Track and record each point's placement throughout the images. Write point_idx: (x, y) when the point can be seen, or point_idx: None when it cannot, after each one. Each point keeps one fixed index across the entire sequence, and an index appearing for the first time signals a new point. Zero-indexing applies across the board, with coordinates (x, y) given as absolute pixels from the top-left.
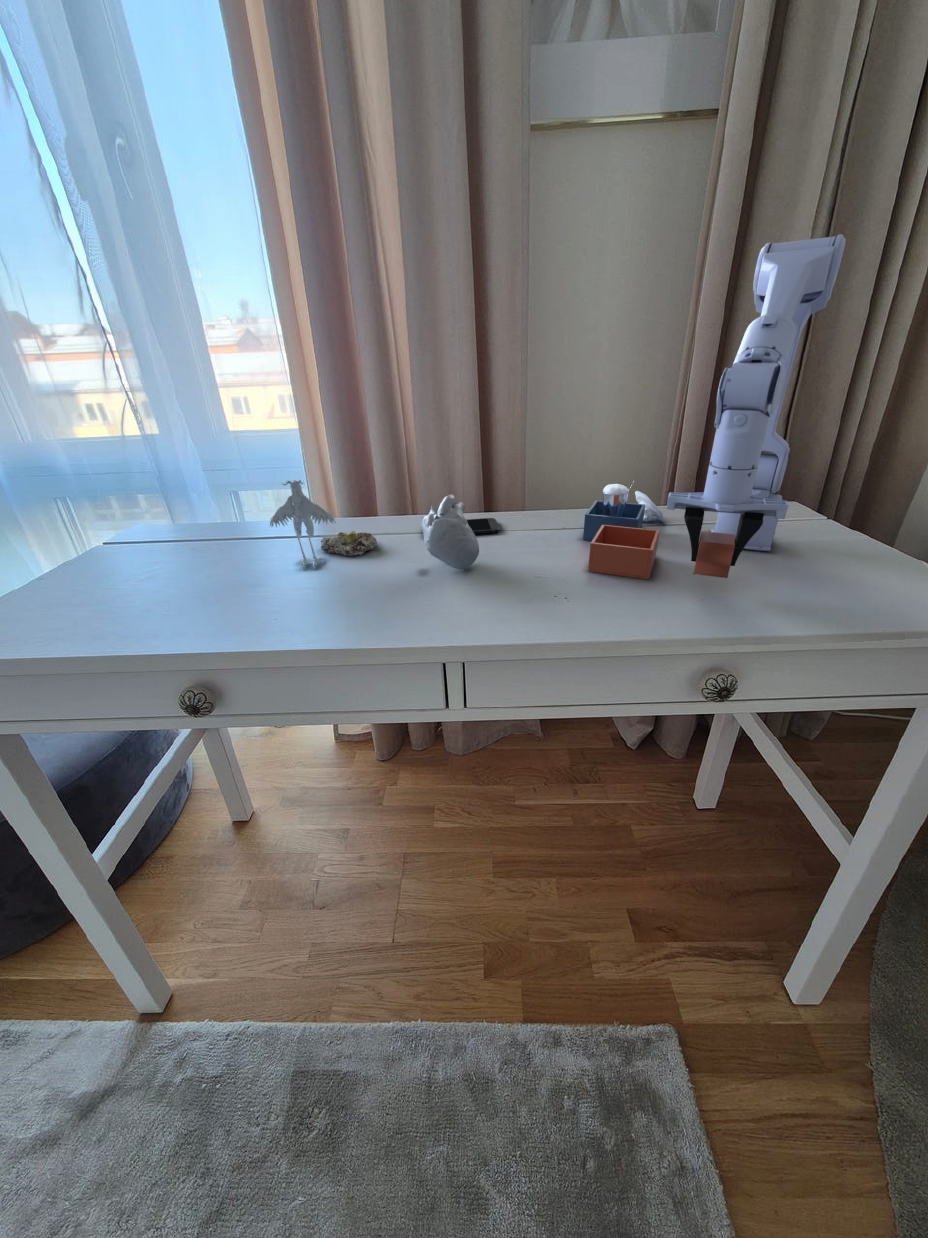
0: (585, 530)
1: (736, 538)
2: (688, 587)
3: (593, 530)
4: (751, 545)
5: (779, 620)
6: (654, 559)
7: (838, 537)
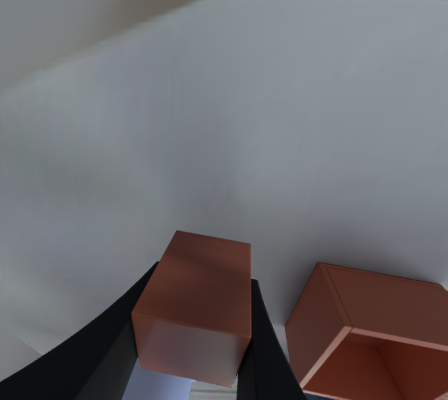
0: None
1: (130, 348)
2: (247, 240)
3: None
4: None
5: (91, 132)
6: (290, 320)
7: None
